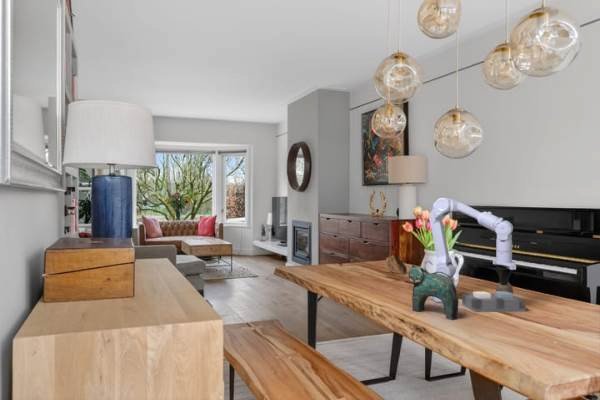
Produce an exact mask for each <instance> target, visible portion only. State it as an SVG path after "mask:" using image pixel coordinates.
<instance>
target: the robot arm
mask: <svg viewBox="0 0 600 400" xmlns="http://www.w3.org/2000/svg"><path fill="white" fill-rule="evenodd" d="M451 212H460V213H462V214H463V215H464V214H465V215H467V216H469V217H472V218H474V219H475V220H477V223H478V224H479V225H481V226H483V227H484V228H487V229H488V230H491V231H493V232H495V233H496V239H495V241H496V244H495V245H496V247H495V248H496V250H495V251H496V253H495V254H496V255H495V256H496V257H495V259H492V265H495V267H494V270H495V272H496V273H497V276H498V280H499V283H500V284H501V285H507V284H508V282H509V280H510V278H511V277H510V276H511V275H512V273H513V271H514V270H515V271H516V270H517V264H515V261H513V240H512V238H513V234H512V233H513V230H514V226H513V224H512V223H511V222H510V221H508V220H504V218H503V217H499V216H496V215H494V214H493V213H492V212H491V211H488V212H487V211H483V212H481V211H479V210H477V209H474V208H473V207H471V206H469V205H467V204H465V203H463V202H461V201H459V200H457V199H453V198H451V197H440V198H438V199H436V201H434V203H433V204H432V209H431V212H430V214H429V217H428V219H429V225H430V229H431V235H432V240H433V244H434V249H435V255H436V261H435V271H434V273H435V272H443V273H446V274H447V275H449V276H450V277H451V279H452V281H453V283H454V284H455V277H454V276H455V275H456V274H457V271H456V269H457V268H456V266H455V265H454V263H453V261H452V259H451V257H450V253H449V249H448V243H447V238H446V234H445V233H446V232H445V229H444V223H443V220H444V219H445V218H446V216H447V215H448V214H450V213H451ZM436 274H441V275H444V276H446V277H448V276H447V275H445V274H442V273H436ZM448 278H449V277H448ZM449 279H450V278H449ZM451 279H450V280H451ZM429 298H430V299H431V300H433V301H434V302H436V303H442V301H441V300H440V299H439V298H436V297H432V296H429Z"/></svg>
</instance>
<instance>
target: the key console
mask: <svg viewBox="0 0 600 400" xmlns="http://www.w3.org/2000/svg"><path fill="white" fill-rule="evenodd" d="M490 294H491V298H476V297H474V296H473V293H462V294H461V297H462V299H461V300H462V302H461V303H462V305H463V306H464V307H466V308H467V309H469V310H471V311H472V312H474V313H490V312H491V313H492V312H493V313H497V312H499V313H505V312H507V313H508V312H512V313H514V312H518V311H526V309H527V307H526V305H527V304H526V299H524V298H522V297H520V296H516V295H515V294H513V298H499V297H497V296H495V292H494V293H492V292H491V293H490ZM526 312H527V311H526Z"/></svg>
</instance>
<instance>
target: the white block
mask: <svg viewBox="0 0 600 400" xmlns="http://www.w3.org/2000/svg"><path fill="white" fill-rule="evenodd" d="M472 294H473V296H474V297H476V298H491V294H490V293H489V292H487V291H472Z"/></svg>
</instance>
